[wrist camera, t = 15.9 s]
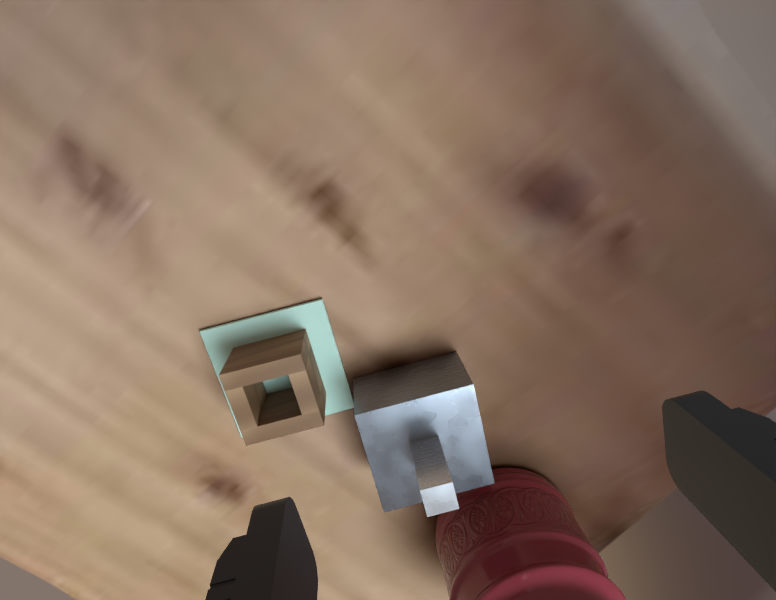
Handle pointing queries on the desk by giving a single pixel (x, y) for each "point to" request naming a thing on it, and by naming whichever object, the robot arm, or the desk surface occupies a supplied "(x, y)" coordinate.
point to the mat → (280, 323)
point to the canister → (518, 544)
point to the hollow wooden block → (282, 408)
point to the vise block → (422, 433)
